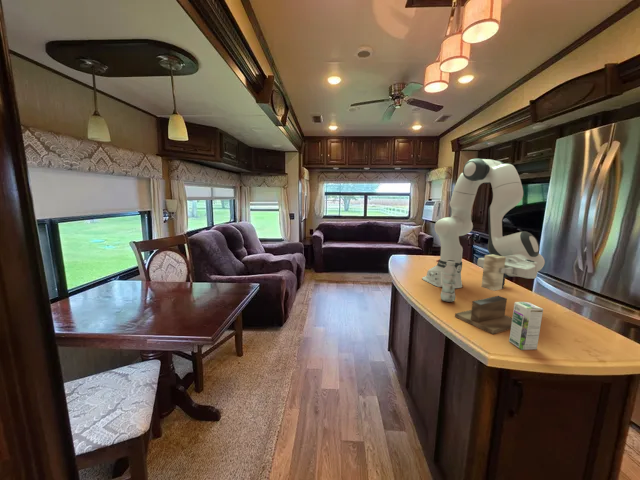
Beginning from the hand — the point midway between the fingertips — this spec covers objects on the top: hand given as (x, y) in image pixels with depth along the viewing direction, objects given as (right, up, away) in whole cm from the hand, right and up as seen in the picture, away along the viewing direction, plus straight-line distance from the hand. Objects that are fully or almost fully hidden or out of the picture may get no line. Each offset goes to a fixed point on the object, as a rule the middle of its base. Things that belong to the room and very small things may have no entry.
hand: (492, 268), depth 107 cm
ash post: (+1, -8, +2) cm, 8 cm away
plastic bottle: (-6, -18, +25) cm, 31 cm away
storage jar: (+31, -15, +48) cm, 60 cm away
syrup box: (+1, -25, -14) cm, 29 cm away
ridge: (0, -22, +4) cm, 22 cm away
